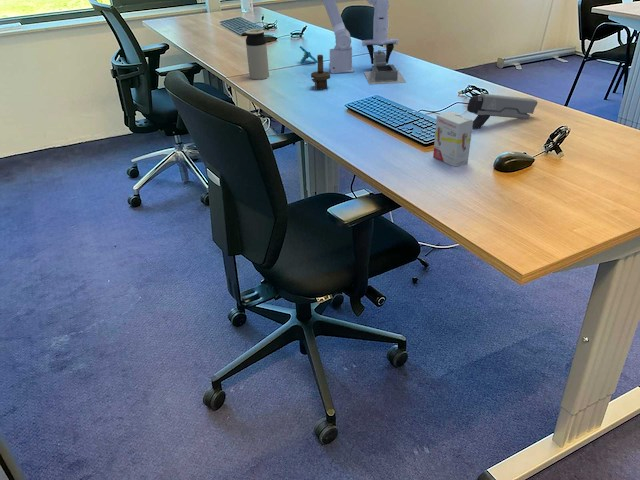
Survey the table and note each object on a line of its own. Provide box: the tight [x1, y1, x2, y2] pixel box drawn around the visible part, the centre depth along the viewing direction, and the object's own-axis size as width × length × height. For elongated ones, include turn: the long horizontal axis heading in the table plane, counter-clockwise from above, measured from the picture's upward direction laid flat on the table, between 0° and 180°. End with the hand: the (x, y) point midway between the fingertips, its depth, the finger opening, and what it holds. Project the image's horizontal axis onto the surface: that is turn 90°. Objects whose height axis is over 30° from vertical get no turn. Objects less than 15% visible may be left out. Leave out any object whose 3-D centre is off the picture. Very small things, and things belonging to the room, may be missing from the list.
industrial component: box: [310, 54, 331, 90], centre depth 193 cm, size 9×7×12 cm
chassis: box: [363, 64, 406, 85], centre depth 204 cm, size 14×16×4 cm
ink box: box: [432, 110, 474, 168], centre depth 133 cm, size 9×5×12 cm, turn 31°
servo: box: [373, 49, 387, 66], centre depth 214 cm, size 4×10×7 cm, turn 3°
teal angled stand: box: [299, 45, 317, 64], centre depth 228 cm, size 11×6×10 cm
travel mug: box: [245, 28, 270, 80], centre depth 207 cm, size 8×8×18 cm
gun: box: [466, 93, 538, 130], centre depth 156 cm, size 2×25×10 cm, turn 112°
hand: (379, 63), depth 214 cm, fingers open, 5 cm apart
